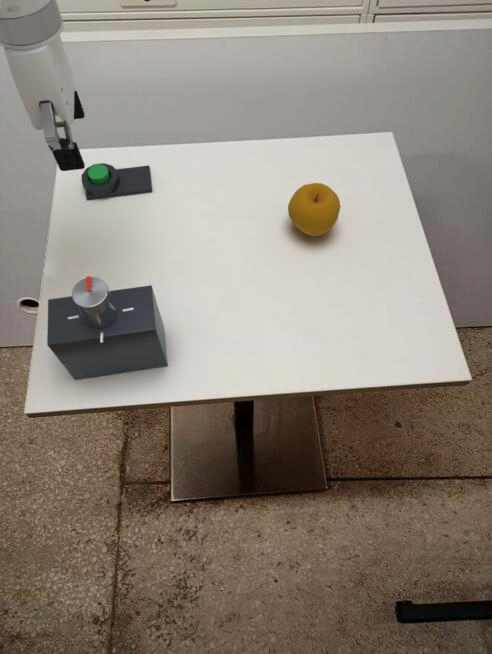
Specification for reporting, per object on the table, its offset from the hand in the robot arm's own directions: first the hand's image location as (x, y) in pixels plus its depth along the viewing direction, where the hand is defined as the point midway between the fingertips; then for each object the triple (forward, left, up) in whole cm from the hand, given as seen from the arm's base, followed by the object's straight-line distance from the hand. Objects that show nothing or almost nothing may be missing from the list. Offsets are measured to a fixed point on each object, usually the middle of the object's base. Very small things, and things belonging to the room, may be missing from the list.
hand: (73, 142), depth 68 cm
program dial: (+1, -22, -9) cm, 24 cm away
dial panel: (+1, -22, -22) cm, 31 cm away
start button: (-1, +13, -19) cm, 23 cm away
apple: (+35, -3, -22) cm, 41 cm away
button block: (+2, +13, -21) cm, 25 cm away
